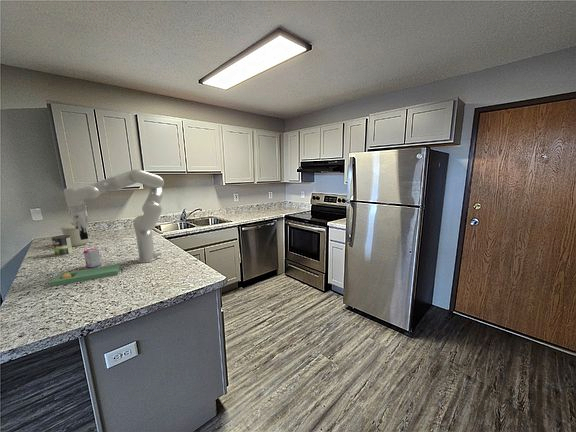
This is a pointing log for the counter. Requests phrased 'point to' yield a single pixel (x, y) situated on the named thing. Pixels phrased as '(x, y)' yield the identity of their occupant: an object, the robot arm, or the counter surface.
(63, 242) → the coffee can
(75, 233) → the canister
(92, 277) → the green
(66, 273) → the ball
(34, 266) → the counter surface
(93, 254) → the supplement box
